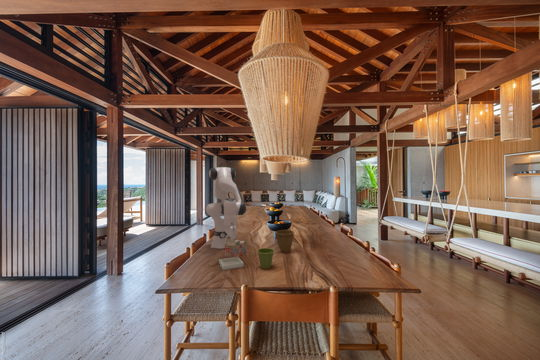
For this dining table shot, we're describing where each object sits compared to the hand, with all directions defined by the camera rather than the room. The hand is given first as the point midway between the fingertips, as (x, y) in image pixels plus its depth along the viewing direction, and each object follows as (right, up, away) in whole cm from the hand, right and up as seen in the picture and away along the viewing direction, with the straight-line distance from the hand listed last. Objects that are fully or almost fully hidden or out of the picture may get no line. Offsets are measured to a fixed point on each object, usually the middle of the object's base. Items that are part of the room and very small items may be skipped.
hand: (230, 241), depth 165 cm
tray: (0, -16, 0) cm, 16 cm away
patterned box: (+1, -17, +20) cm, 26 cm away
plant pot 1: (+25, -16, -4) cm, 30 cm away
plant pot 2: (+40, -16, +30) cm, 52 cm away
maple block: (0, -2, 0) cm, 2 cm away
